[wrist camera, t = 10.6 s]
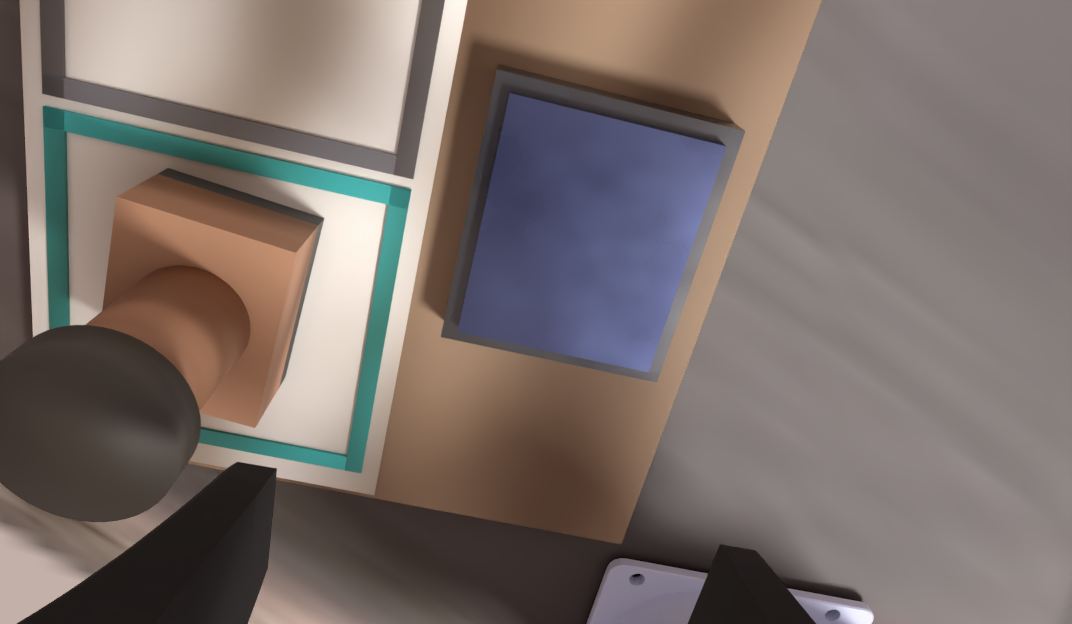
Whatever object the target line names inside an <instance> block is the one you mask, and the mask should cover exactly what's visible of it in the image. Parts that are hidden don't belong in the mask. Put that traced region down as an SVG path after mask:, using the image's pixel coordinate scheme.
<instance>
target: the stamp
mask: <svg viewBox="0 0 1072 624" xmlns="http://www.w3.org/2000/svg"><path fill="white" fill-rule="evenodd" d="M323 222H324V218H322V217H319V216H316V215H313V214H310V213H306V212H303V211H300V210H297V209H294V208H291V207H288V206H285V205H282V204H279V203H275V202H272V201H269V200H266V199H263V198H260V197H257V196H254V195H251V194H248V193H244V192H241V191H238V190H235V189H232V188H229V187H226V186H223V185H220V184H217V183H213V182H210V181H207V180H204V179H201V178H198V177H195V176H192V175H189V174H186V173H182V172H179V171H176V170H173V169H170V168H167V169H165V170H163V171H161V172H160V173H158V174H156V175H154V176H152V177H151V178H149V179H147V180H145V181H143V182H142V183H140V184H138V185H136V186H134V187H133V188H131V189H129V190H127V191H125V192H124V193H122V194H120V195H118V196H116V204H115V212H114V220H113V228H112V236H111V244H110V252H109V260H108V268H107V276H106V284H105V292H104V300H103V308H102V312H101V313H99V314H98V315H97V316H96V317H94V318H93V319H92V320H91V321H89V322H88V323H87V324H86V325H70V326H62V327H58V328H54V329H50V330H47V331H45V332H42V333H40V334H38V335H36V336H34V337H33V338H31V339H29V340H28V341H27V342H25V343H24V344H23V345H21V346H20V347H19V348H17V349H16V350H15V351H13V352H12V353H11V354H9V355H8V356H7V357H5V358H4V359H3V360H1V361H0V482H1V483H2V484H3V485H4V486H5V487H6V488H8V489H9V490H10V491H11V492H13V493H14V494H15V495H17V496H18V497H20V498H21V499H23V500H25V501H26V502H28V503H30V504H32V505H34V506H36V507H38V508H40V509H42V510H44V511H47V512H49V513H52V514H55V515H58V516H61V517H65V518H69V519H74V520H79V521H89V522H108V521H117V520H122V519H126V518H130V517H133V516H136V515H138V514H141V513H142V512H144V511H146V510H148V509H150V508H151V507H153V506H154V505H155V504H157V503H158V502H159V501H160V500H161V499H162V498H163V497H164V496H165V495H166V493H167V492H168V491H169V489H170V488H171V486H172V485H173V483H174V482H175V481H176V479H177V478H178V476H179V475H180V473H181V472H182V470H183V469H184V467H185V466H186V465H187V463H188V462H189V460H190V459H191V457H192V456H193V454H194V452H195V450H196V448H197V445H198V442H199V438H200V432H201V417H200V413H202V414H206V415H210V416H213V417H217V418H220V419H224V420H228V421H231V422H235V423H238V424H242V425H246V426H249V427H253V428H255V427H256V426H257V424H258V422H259V421H260V419H261V417H262V416H263V414H264V412H265V411H266V409H267V407H268V406H269V404H270V402H271V401H272V399H273V397H274V396H275V394H276V392H277V391H278V389H279V387H280V386H281V384H282V382H283V381H284V379H285V377H286V373H287V369H288V365H289V361H290V357H291V352H292V348H293V344H294V340H295V336H296V332H297V328H298V324H299V320H300V316H301V312H302V308H303V304H304V299H305V295H306V291H307V287H308V283H309V279H310V275H311V271H312V267H313V263H314V259H315V255H316V251H317V246H318V242H319V238H320V234H321V230H322V226H323Z"/></svg>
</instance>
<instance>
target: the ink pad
mask: <svg viewBox="0 0 1072 624" xmlns="http://www.w3.org/2000/svg"><path fill="white" fill-rule="evenodd" d="M744 134H745V130H743V129H742V128H741V127H739V126H738V125H737V124H735V123H732V122H728V121H724V120H720V119H716V118H712V117H708V116H704V115H700V114H696V113H692V112H688V111H684V110H680V109H676V108H672V107H668V106H664V105H660V104H656V103H652V102H648V101H644V100H640V99H636V98H632V97H628V96H624V95H620V94H616V93H612V92H608V91H604V90H600V89H596V88H592V87H588V86H584V85H580V84H576V83H572V82H568V81H564V80H560V79H556V78H552V77H548V76H544V75H540V74H536V73H532V72H528V71H524V70H520V69H516V68H512V67H508V66H504V65H500V64H498V67H497V71H496V76H495V80H494V85H493V90H492V95H491V100H490V104H489V109H488V114H487V119H486V123H485V128H484V133H483V138H482V142H481V147H480V152H479V157H478V161H477V166H476V171H475V176H474V180H473V185H472V190H471V195H470V199H469V204H468V209H467V214H466V218H465V223H464V228H463V233H462V237H461V242H460V247H459V252H458V256H457V261H456V266H455V271H454V275H453V280H452V285H451V290H450V294H449V299H448V304H447V309H446V313H445V318H444V323H443V328H442V332H441V337H443V338H447V339H452V340H457V341H462V342H466V343H471V344H476V345H481V346H485V347H490V348H495V349H500V350H504V351H509V352H514V353H519V354H523V355H528V356H533V357H538V358H543V359H547V360H552V361H557V362H562V363H566V364H571V365H576V366H581V367H585V368H590V369H595V370H600V371H604V372H609V373H614V374H619V375H623V376H628V377H633V378H638V379H642V380H647V381H652V382H657V381H658V378H659V375H660V372H661V369H662V366H663V364H664V361H665V358H666V355H667V352H668V349H669V347H670V344H671V341H672V338H673V335H674V332H675V330H676V327H677V324H678V321H679V318H680V315H681V313H682V310H683V307H684V304H685V301H686V298H687V296H688V293H689V290H690V287H691V284H692V281H693V279H694V276H695V273H696V270H697V267H698V264H699V262H700V259H701V256H702V253H703V250H704V247H705V245H706V242H707V239H708V236H709V233H710V230H711V228H712V225H713V222H714V219H715V216H716V213H717V211H718V208H719V205H720V202H721V199H722V196H723V194H724V191H725V188H726V185H727V182H728V179H729V177H730V174H731V171H732V168H733V165H734V162H735V160H736V157H737V154H738V151H739V148H740V145H741V143H742V140H743V137H744Z"/></svg>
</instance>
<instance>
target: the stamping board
mask: <svg viewBox="0 0 1072 624" xmlns="http://www.w3.org/2000/svg"><path fill="white" fill-rule="evenodd" d="M821 1H822V0H20V24H21V49H22V74H23V99H24V124H25V149H26V175H27V200H28V225H29V250H30V275H31V300H32V325H33V337H34V336H36V335H38V334H40V333H42V332H45V331H47V330H50V329H54V328H58V327H62V326H70V325H86V324H87V323H88V322H89V321H91V320H92V319H93V318H94V317H96V316H97V315H98V314H99V313H101V312H102V308H103V300H104V292H105V284H106V276H107V268H108V260H109V252H110V244H111V236H112V228H113V220H114V212H115V204H116V196H118V195H120V194H122V193H124V192H125V191H127V190H129V189H131V188H133V187H134V186H136V185H138V184H140V183H142V182H143V181H145V180H147V179H149V178H151V177H152V176H154V175H156V174H158V173H160V172H161V171H163V170H165V169H167V168H170V169H173V170H176V171H179V172H182V173H186V174H189V175H192V176H195V177H198V178H201V179H204V180H207V181H210V182H213V183H217V184H220V185H223V186H226V187H229V188H232V189H235V190H238V191H241V192H244V193H248V194H251V195H254V196H257V197H260V198H263V199H266V200H269V201H272V202H275V203H279V204H282V205H285V206H288V207H291V208H294V209H297V210H300V211H303V212H306V213H310V214H313V215H316V216H319V217H322V218H324V222H323V226H322V230H321V234H320V238H319V242H318V246H317V251H316V255H315V259H314V263H313V267H312V271H311V275H310V279H309V283H308V287H307V291H306V295H305V299H304V304H303V308H302V312H301V316H300V320H299V324H298V328H297V332H296V336H295V340H294V344H293V348H292V352H291V357H290V361H289V365H288V369H287V373H286V377H285V379H284V381H283V382H282V384H281V386H280V387H279V389H278V391H277V392H276V394H275V396H274V397H273V399H272V401H271V402H270V404H269V406H268V407H267V409H266V411H265V412H264V414H263V416H262V417H261V419H260V421H259V422H258V424H257V426H256V427H255V428H253V427H249V426H246V425H242V424H238V423H235V422H231V421H228V420H224V419H220V418H217V417H213V416H210V415H206V414H202V413H200V417H201V432H200V438H199V442H198V445H197V448H196V450H195V452H194V454H193V456H192V457H191V459H190V460H189V462H188V463H187V464H192V465H197V466H203V467H208V468H213V469H219V470H224V471H225V470H226V469H227V468H228V467H229V466H231V465H233V464H234V463H236V462H242V463H248V464H254V465H260V466H266V467H271V468H277V474H276V480H278V481H283V482H289V483H294V484H299V485H305V486H310V487H315V488H321V489H326V490H332V491H337V492H342V493H348V494H353V495H358V496H364V497H369V498H375V499H380V500H385V501H391V502H396V503H402V504H407V505H412V506H418V507H423V508H428V509H434V510H439V511H445V512H450V513H455V514H461V515H466V516H471V517H477V518H482V519H488V520H493V521H498V522H504V523H509V524H514V525H520V526H525V527H531V528H536V529H541V530H547V531H552V532H557V533H563V534H568V535H574V536H579V537H584V538H590V539H595V540H600V541H606V542H611V543H617V544H622V541H623V539H624V536H625V533H626V531H627V528H628V525H629V522H630V520H631V517H632V514H633V512H634V509H635V506H636V503H637V501H638V498H639V495H640V492H641V490H642V487H643V484H644V482H645V479H646V476H647V473H648V471H649V468H650V465H651V463H652V460H653V457H654V454H655V452H656V449H657V446H658V444H659V441H660V438H661V435H662V433H663V430H664V427H665V425H666V422H667V419H668V416H669V414H670V411H671V408H672V406H673V403H674V400H675V397H676V395H677V392H678V389H679V387H680V384H681V381H682V378H683V376H684V373H685V370H686V368H687V365H688V362H689V359H690V357H691V354H692V351H693V349H694V346H695V343H696V340H697V338H698V335H699V332H700V330H701V327H702V324H703V321H704V319H705V316H706V313H707V311H708V308H709V305H710V302H711V300H712V297H713V294H714V292H715V289H716V286H717V283H718V281H719V278H720V275H721V273H722V270H723V267H724V264H725V262H726V259H727V256H728V253H729V251H730V248H731V245H732V243H733V240H734V237H735V234H736V232H737V229H738V226H739V224H740V221H741V218H742V215H743V213H744V210H745V207H746V205H747V202H748V199H749V196H750V194H751V191H752V188H753V186H754V183H755V180H756V177H757V175H758V172H759V169H760V167H761V164H762V161H763V158H764V156H765V153H766V150H767V148H768V145H769V142H770V139H771V137H772V134H773V131H774V129H775V126H776V123H777V120H778V118H779V115H780V112H781V110H782V107H783V104H784V101H785V99H786V96H787V93H788V91H789V88H790V85H791V82H792V80H793V77H794V74H795V72H796V69H797V66H798V63H799V61H800V58H801V55H802V53H803V50H804V47H805V44H806V42H807V39H808V36H809V34H810V31H811V28H812V25H813V23H814V20H815V17H816V14H817V12H818V9H819V6H820V4H821ZM498 64H500V65H504V66H508V67H512V68H516V69H520V70H524V71H528V72H532V73H536V74H540V75H544V76H548V77H552V78H556V79H560V80H564V81H568V82H572V83H576V84H580V85H584V86H588V87H592V88H596V89H600V90H604V91H608V92H612V93H616V94H620V95H624V96H628V97H632V98H636V99H640V100H644V101H648V102H652V103H656V104H660V105H664V106H668V107H672V108H676V109H680V110H684V111H688V112H692V113H696V114H700V115H704V116H708V117H712V118H716V119H720V120H724V121H728V122H732V123H735V124H737V125H738V126H739V127H741V128H742V129H743V130H745V134H744V137H743V140H742V143H741V145H740V148H739V151H738V154H737V157H736V160H735V162H734V165H733V168H732V171H731V174H730V177H729V179H728V182H727V185H726V188H725V191H724V194H723V196H722V199H721V202H720V205H719V208H718V211H717V213H716V216H715V219H714V222H713V225H712V228H711V230H710V233H709V236H708V239H707V242H706V245H705V247H704V250H703V253H702V256H701V259H700V262H699V264H698V267H697V270H696V273H695V276H694V279H693V281H692V284H691V287H690V290H689V293H688V296H687V298H686V301H685V304H684V307H683V310H682V313H681V315H680V318H679V321H678V324H677V327H676V330H675V332H674V335H673V338H672V341H671V344H670V347H669V349H668V352H667V355H666V358H665V361H664V364H663V366H662V369H661V372H660V375H659V378H658V381H657V382H652V381H647V380H642V379H638V378H633V377H628V376H623V375H619V374H614V373H609V372H604V371H600V370H595V369H590V368H585V367H581V366H576V365H571V364H566V363H562V362H557V361H552V360H547V359H543V358H538V357H533V356H528V355H523V354H519V353H514V352H509V351H504V350H500V349H495V348H490V347H485V346H481V345H476V344H471V343H466V342H462V341H457V340H452V339H447V338H443V337H441V332H442V328H443V323H444V318H445V313H446V309H447V304H448V299H449V294H450V290H451V285H452V280H453V275H454V271H455V266H456V261H457V256H458V252H459V247H460V242H461V237H462V233H463V228H464V223H465V218H466V214H467V209H468V204H469V199H470V195H471V190H472V185H473V180H474V176H475V171H476V166H477V161H478V157H479V152H480V147H481V142H482V138H483V133H484V128H485V123H486V119H487V114H488V109H489V104H490V100H491V95H492V90H493V85H494V80H495V76H496V71H497V67H498Z"/></svg>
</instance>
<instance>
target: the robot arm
mask: <svg viewBox="0 0 1072 624" xmlns="http://www.w3.org/2000/svg"><path fill="white" fill-rule="evenodd" d="M276 474H277V468H271V467H266V466H260V465H254V464H248V463H242V462H236V463H234V464H233V465H231V466H229V467H228V468H227V469H226V470H225V471H224V472H222V473H221V474H220V475H219V476H218V477H217V478H216V479H214V480H213V481H212V482H211V483H210V484H209V485H207V486H206V487H205V488H204V489H203V490H202V491H200V492H199V493H198V494H197V495H196V496H194V497H193V498H192V499H191V500H190V501H188V502H187V503H186V504H185V505H184V506H182V507H181V508H180V509H179V510H178V511H176V512H175V513H174V514H173V515H171V516H170V517H169V518H168V519H166V520H165V521H164V522H162V523H161V524H160V525H159V526H157V527H156V528H155V529H154V530H152V531H151V532H150V533H148V534H147V535H146V536H145V537H143V538H142V539H141V540H139V541H138V542H137V543H136V544H134V545H133V546H132V547H130V548H129V549H128V550H126V551H125V552H124V553H122V554H121V555H119V556H118V557H117V558H115V559H114V560H112V561H111V562H109V563H108V564H107V565H105V566H104V567H102V568H101V569H100V570H98V571H97V572H95V573H94V574H92V575H91V576H90V577H88V578H87V579H85V580H84V581H82V582H81V583H80V584H78V585H77V586H75V587H74V588H72V589H71V590H69V591H68V592H66V593H65V594H63V595H62V596H60V597H59V598H57V599H56V600H54V601H52V602H51V603H49V604H48V605H46V606H45V607H43V608H41V609H40V610H38V611H37V612H35V613H33V614H32V615H30V616H29V617H27V618H25V619H24V620H22V621H20V622H19V623H17V624H248V621H249V618H250V616H251V613H252V610H253V608H254V605H255V602H256V599H257V597H258V594H259V591H260V588H261V585H262V582H263V580H264V577H265V574H266V571H267V568H268V558H269V548H270V537H271V526H272V516H273V505H274V495H275V484H276ZM634 574H641V575H640V576H638V577H632V575H634ZM830 610H833V611H830ZM828 611H830V612H828ZM873 618H874V616H873V613H872V611H871V609H870V607H869V606H868V605H867V604H866V603H863V602H860V601H854V600H849V599H844V598H838V597H833V596H827V595H822V594H816V593H811V592H806V591H800V590H795V589H789V588H787V587H786V586H785V585H784V584H783V582H782V581H781V580H780V579H779V578H778V576H777V575H776V574H775V573H774V572H773V570H772V569H771V568H770V567H769V566H768V564H767V563H766V562H765V561H764V560H763V559H762V557H761V556H760V555H759V554H758V553H757V552H756V551H754V550H749V549H743V548H737V547H731V546H725V545H720V546H719V548H718V551H717V553H716V556H715V558H714V561H713V563H712V565H711V568H710V570H709V573H702V572H697V571H692V570H686V569H681V568H675V567H670V566H664V565H659V564H653V563H648V562H643V561H637V560H632V559H626V558H619V559H615V560H613V561H612V562H610V563H609V565H608V566H607V569H606V571H605V574H604V577H603V580H602V582H601V585H600V588H599V591H598V593H597V596H596V599H595V602H594V604H593V607H592V610H591V613H590V615H589V618H588V621H587V624H871V623H872V622H873Z"/></svg>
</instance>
